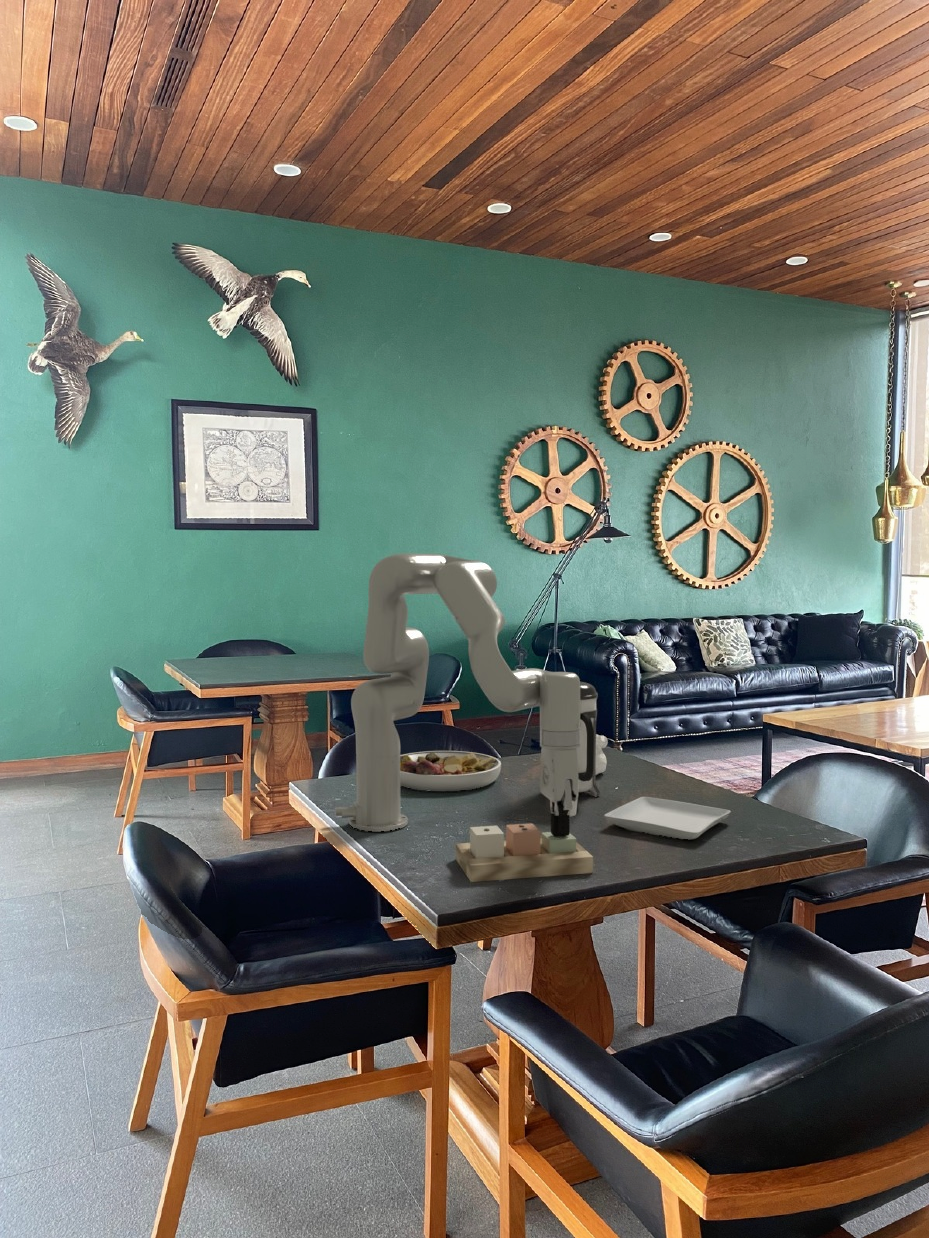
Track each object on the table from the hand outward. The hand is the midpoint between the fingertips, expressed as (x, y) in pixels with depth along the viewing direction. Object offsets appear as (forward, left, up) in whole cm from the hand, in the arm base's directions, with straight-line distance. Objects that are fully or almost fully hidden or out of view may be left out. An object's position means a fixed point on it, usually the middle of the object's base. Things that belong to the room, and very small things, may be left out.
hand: (560, 834), depth 176 cm
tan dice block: (-7, 0, -3) cm, 8 cm away
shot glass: (+12, +33, -6) cm, 36 cm away
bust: (+33, +70, -6) cm, 78 cm away
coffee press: (+20, +49, -6) cm, 53 cm away
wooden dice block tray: (-7, 0, -6) cm, 9 cm away
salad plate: (+31, +19, -6) cm, 37 cm away
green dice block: (0, 0, -5) cm, 5 cm away
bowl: (-9, +71, -6) cm, 71 cm away
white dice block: (-14, 0, -3) cm, 15 cm away
